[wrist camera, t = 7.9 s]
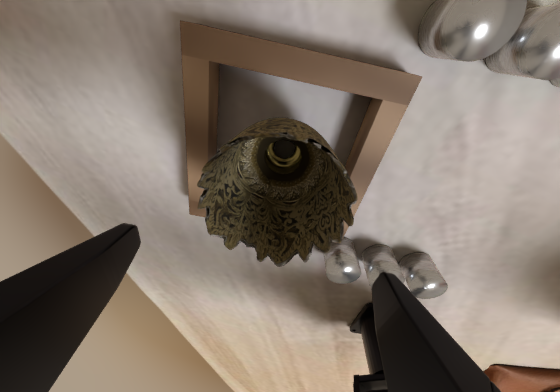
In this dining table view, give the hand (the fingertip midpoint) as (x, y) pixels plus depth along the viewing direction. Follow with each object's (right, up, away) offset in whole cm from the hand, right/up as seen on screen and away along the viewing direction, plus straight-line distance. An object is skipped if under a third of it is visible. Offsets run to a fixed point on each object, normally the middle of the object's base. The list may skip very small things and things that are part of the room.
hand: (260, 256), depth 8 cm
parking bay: (+1, +6, +9) cm, 11 cm away
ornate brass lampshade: (+1, +6, +9) cm, 11 cm away
